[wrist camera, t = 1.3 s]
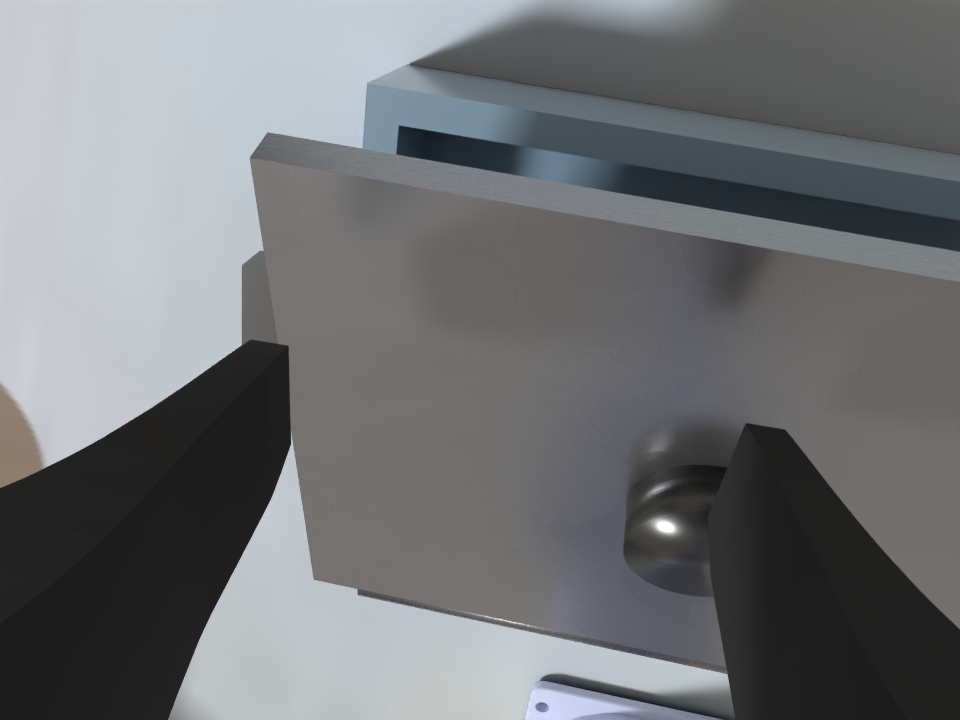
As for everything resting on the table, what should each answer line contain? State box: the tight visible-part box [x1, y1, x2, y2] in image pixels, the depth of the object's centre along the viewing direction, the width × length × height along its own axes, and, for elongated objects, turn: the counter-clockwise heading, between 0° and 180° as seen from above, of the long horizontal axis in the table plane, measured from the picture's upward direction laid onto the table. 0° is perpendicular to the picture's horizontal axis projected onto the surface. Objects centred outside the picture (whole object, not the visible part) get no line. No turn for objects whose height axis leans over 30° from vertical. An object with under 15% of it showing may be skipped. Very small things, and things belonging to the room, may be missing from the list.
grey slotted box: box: [242, 65, 960, 345], centre depth 22 cm, size 14×24×4 cm, turn 82°
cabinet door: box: [250, 133, 960, 674], centre depth 18 cm, size 15×19×2 cm
